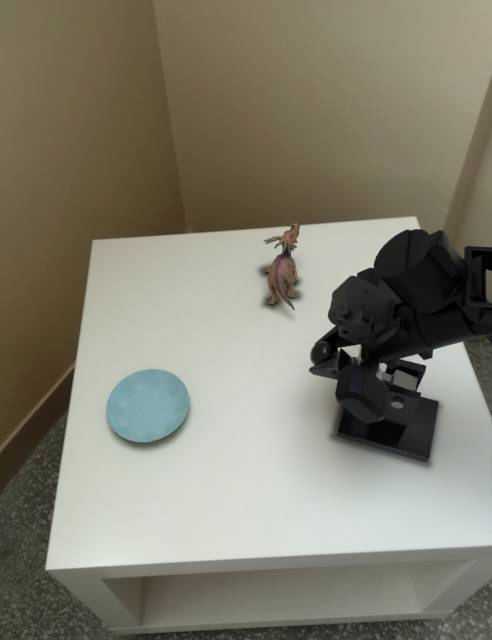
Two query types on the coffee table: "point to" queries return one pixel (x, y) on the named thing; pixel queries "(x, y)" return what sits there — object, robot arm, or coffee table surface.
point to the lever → (398, 378)
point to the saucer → (147, 405)
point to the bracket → (397, 420)
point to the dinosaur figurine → (283, 266)
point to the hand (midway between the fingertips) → (313, 358)
